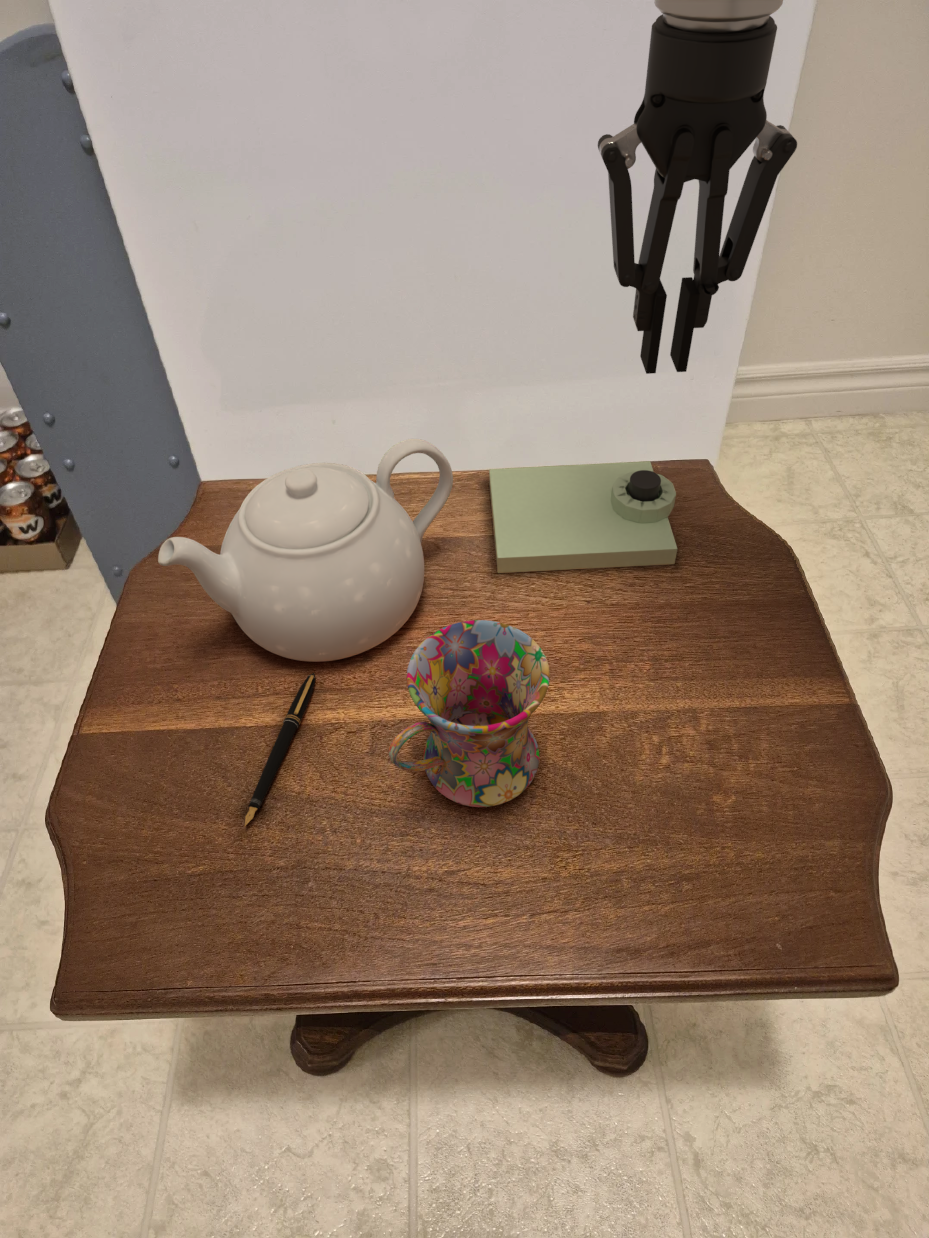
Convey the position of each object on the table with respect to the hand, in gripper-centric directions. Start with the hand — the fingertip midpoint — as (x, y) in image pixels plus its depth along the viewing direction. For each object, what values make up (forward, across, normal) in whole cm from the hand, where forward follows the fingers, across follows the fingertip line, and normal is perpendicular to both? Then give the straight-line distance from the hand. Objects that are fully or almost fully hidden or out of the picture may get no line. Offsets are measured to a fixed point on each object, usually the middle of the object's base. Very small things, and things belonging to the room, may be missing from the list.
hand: (663, 363), depth 69 cm
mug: (+17, +18, +27) cm, 37 cm away
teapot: (+17, +29, +8) cm, 34 cm away
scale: (+16, +6, 0) cm, 18 cm away
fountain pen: (+17, +31, +24) cm, 43 cm away
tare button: (+13, 0, 0) cm, 13 cm away
